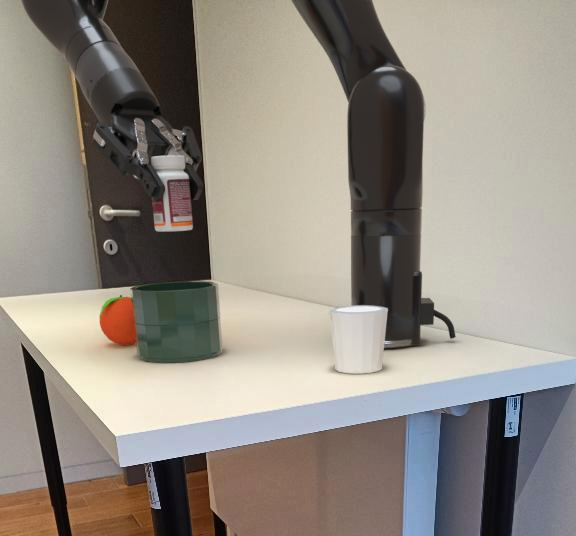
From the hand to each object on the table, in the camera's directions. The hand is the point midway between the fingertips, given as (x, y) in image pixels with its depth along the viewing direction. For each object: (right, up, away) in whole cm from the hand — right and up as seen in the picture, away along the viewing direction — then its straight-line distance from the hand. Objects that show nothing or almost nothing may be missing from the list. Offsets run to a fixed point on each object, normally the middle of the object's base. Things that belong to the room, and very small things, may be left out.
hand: (179, 194), depth 91 cm
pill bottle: (-1, -3, +3) cm, 5 cm away
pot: (-2, -17, +12) cm, 21 cm away
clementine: (-11, -14, +20) cm, 27 cm away
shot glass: (+22, -21, -1) cm, 30 cm away
